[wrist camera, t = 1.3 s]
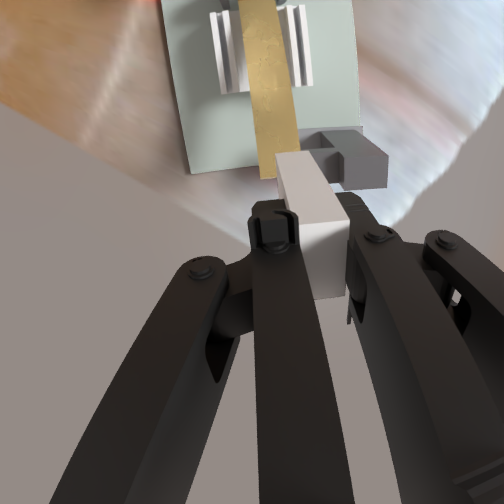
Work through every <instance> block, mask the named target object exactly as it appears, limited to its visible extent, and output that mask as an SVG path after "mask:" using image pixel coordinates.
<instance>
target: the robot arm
mask: <svg viewBox="0 0 504 504" xmlns="http://www.w3.org/2000/svg"><path fill="white" fill-rule="evenodd" d="M275 161H276V171H277V182H278V193H279V199H276V200H267V201H257V202H256V204H255V205H254V206H253V207H252V216H251V217H250V218H249V220H248V222H247V223H248V230H249V237H250V244H251V252H250V254H248V255H247V256H246V257H245V258H243V259H242V260H240V261H237V262H235V263H232V264H229V265H225V263H224V261H223V260H221V259H219V258H218V257H213V256H203V257H202V256H201V257H197V258H193V259H191V260H189V261H187V262H186V263H184V264H183V265H182V266H181V267H180V268H179V269H178V270H177V272H176V274H175V275H174V277H173V278H172V280H171V282H170V283H169V285H168V286H167V288H166V290H165V292H164V293H163V295H162V296H161V298H160V300H159V301H158V303H157V305H156V306H155V308H154V309H153V311H152V313H151V314H150V316H149V318H148V320H147V321H146V323H145V325H144V326H143V328H142V330H141V331H140V333H139V335H138V336H137V338H136V340H135V342H134V343H133V345H132V347H131V348H130V350H129V352H128V354H127V355H126V357H125V359H124V361H123V362H122V364H121V366H120V368H119V369H118V371H117V373H116V375H115V376H114V378H113V380H112V382H111V384H110V386H109V387H108V389H107V391H106V393H105V394H104V397H103V398H102V400H101V402H100V404H99V406H98V408H97V409H96V411H95V413H94V415H93V417H92V419H91V420H90V422H89V424H88V426H87V428H86V430H85V432H84V434H83V436H82V438H81V440H80V442H79V443H78V445H77V447H76V449H75V451H74V453H73V455H72V457H71V459H70V461H69V463H68V465H67V467H66V469H65V471H64V473H63V475H62V478H61V480H60V482H59V484H58V486H57V488H56V490H55V492H54V494H53V496H52V499H51V501H50V503H49V504H185V502H186V500H187V497H188V494H189V491H190V488H191V485H192V482H193V480H194V477H195V474H196V471H197V468H198V465H199V462H200V459H201V456H202V453H203V450H204V447H205V445H206V442H207V439H208V436H209V433H210V430H211V427H212V424H213V421H214V418H215V415H216V412H217V409H218V406H219V403H220V400H221V397H222V394H223V391H224V388H225V385H226V382H227V379H228V376H229V373H230V369H231V366H232V364H233V360H234V357H235V354H236V351H237V348H238V345H239V342H240V335H243V334H246V333H248V332H251V331H254V352H255V381H256V413H257V444H258V470H259V471H258V473H259V501H260V504H355V501H354V496H353V489H352V483H351V477H350V471H349V465H348V460H347V454H346V449H345V443H344V438H343V432H342V427H341V422H340V417H339V412H338V406H337V402H336V397H335V392H334V387H333V382H332V377H331V373H330V368H329V363H328V359H327V354H326V350H325V346H324V341H323V337H322V332H321V328H320V324H319V319H318V315H317V311H316V307H315V302H314V300H317V299H326V298H334V297H341V296H345V290H346V284H347V286H348V289H349V292H350V295H349V305H348V315H347V324H350V323H351V317H352V318H353V321H354V324H355V327H356V330H357V333H358V336H359V340H360V343H361V346H362V349H363V352H364V356H365V359H366V363H367V366H368V369H369V373H370V376H371V379H372V383H373V387H374V390H375V393H376V397H377V401H378V405H379V408H380V412H381V416H382V419H383V423H384V427H385V431H386V436H387V440H388V443H389V448H390V452H391V456H392V461H393V465H394V469H395V474H396V478H397V483H398V488H399V493H400V498H401V502H402V504H504V272H503V271H502V270H500V269H499V268H498V267H497V266H496V265H495V264H493V263H492V262H491V261H490V260H489V259H487V258H486V257H485V256H484V255H482V254H481V253H480V252H479V251H478V250H476V249H475V248H474V247H473V246H471V245H470V244H469V243H467V242H466V241H465V240H464V239H463V238H461V237H460V236H458V235H456V234H454V233H452V232H449V231H446V230H444V231H443V230H436V231H431V232H430V233H428V234H427V235H426V237H425V242H424V244H418V243H408V242H403V240H402V239H401V237H400V236H399V235H398V233H396V232H395V231H394V230H393V229H391V228H389V227H387V226H384V225H379V223H378V222H377V220H376V219H375V217H374V216H373V214H372V213H371V212H370V211H369V209H368V207H367V206H366V205H365V203H364V202H363V200H362V199H361V197H359V196H358V195H356V194H354V193H352V192H341V193H334V192H333V190H332V188H331V186H330V185H329V183H328V181H327V180H326V178H325V176H324V175H323V173H322V171H321V170H320V168H319V167H318V165H317V163H316V162H315V160H314V158H313V157H312V155H311V154H310V152H309V151H296V152H285V153H275ZM455 289H456V290H457V291H458V292H459V293H460V294H461V298H460V301H459V303H458V304H457V303H455V302H454V301H453V300H452V296H453V294H454V291H455Z"/></svg>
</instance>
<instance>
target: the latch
mask: <svg viewBox="0 0 504 504" xmlns="http://www.w3.org/2000/svg"><path fill="white" fill-rule="evenodd" d="M320 135H321V148H320V149H306V150H301V151H309V152H310V154H311V155H312V157H313V158H314V160H315V162H316V163H317V165H318V167H319V168H320V170H321V171H322V173H323V175H324V176H325V178H326V180H327V181H328V183H329V184H331V183H340V185H341V186H342V188H343V190H344V191H348V190H362V189H377V188H387V178H388V158H389V156H388V155H387V154H386V153H385V152H383V151H382V150H381V149H380V148H378V147H377V146H376V145H375V144H373V143H372V142H371V141H370V140H368V139H367V138H366V137H364V136H363V135H362V134H360V133H359V132H358V131H356V130H334V131H320Z"/></svg>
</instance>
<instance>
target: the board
mask: <svg viewBox="0 0 504 504" xmlns="http://www.w3.org/2000/svg"><path fill="white" fill-rule="evenodd" d="M275 2H276V7H277V12H278V17H279V22H280V27H281V32H282V37H283V43H284V48H285V54H286V59H287V65H288V71H289V77H290V83H291V89H292V95H293V101H294V108H295V114H296V121H297V128H298V135H299V142H300V150H306V149H320V148H321V135H320V131H334V130H356V131H358V132H359V133H360V134H362V135H363V126H360V102H359V80H358V63H357V50H356V38H355V28H354V18H353V9H352V1H351V0H275ZM161 3H162V10H163V17H164V24H165V31H166V37H167V44H168V50H169V56H170V62H171V68H172V74H173V80H174V86H175V92H176V97H177V103H178V109H179V114H180V119H181V125H182V130H183V135H184V141H185V146H186V151H187V156H188V161H189V166H190V171H191V174H196V173H203V172H210V171H218V170H225V169H233V168H241V167H249V166H258V165H259V162H258V153H257V145H256V136H255V128H254V120H253V112H252V103H251V95H250V87H249V80H248V72H247V64H246V56H245V49H244V41H243V34H242V26H241V19H240V12H239V4H238V0H161Z"/></svg>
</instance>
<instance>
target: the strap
mask: <svg viewBox="0 0 504 504" xmlns="http://www.w3.org/2000/svg"><path fill="white" fill-rule="evenodd" d="M238 4H239V12H240V19H241V26H242V34H243V41H244V49H245V56H246V64H247V72H248V80H249V87H250V95H251V103H252V112H253V120H254V128H255V136H256V145H257V153H258V162H259V170H260V179H261V180H263V179H272V178H277V171H276V161H275V153H285V152H296V151H301V150H300V142H299V135H298V128H297V121H296V114H295V108H294V101H293V95H292V89H291V83H290V77H289V71H288V65H287V59H286V54H285V48H284V43H283V37H282V32H281V27H280V22H279V17H278V12H277V7H276V2H275V0H238Z"/></svg>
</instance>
